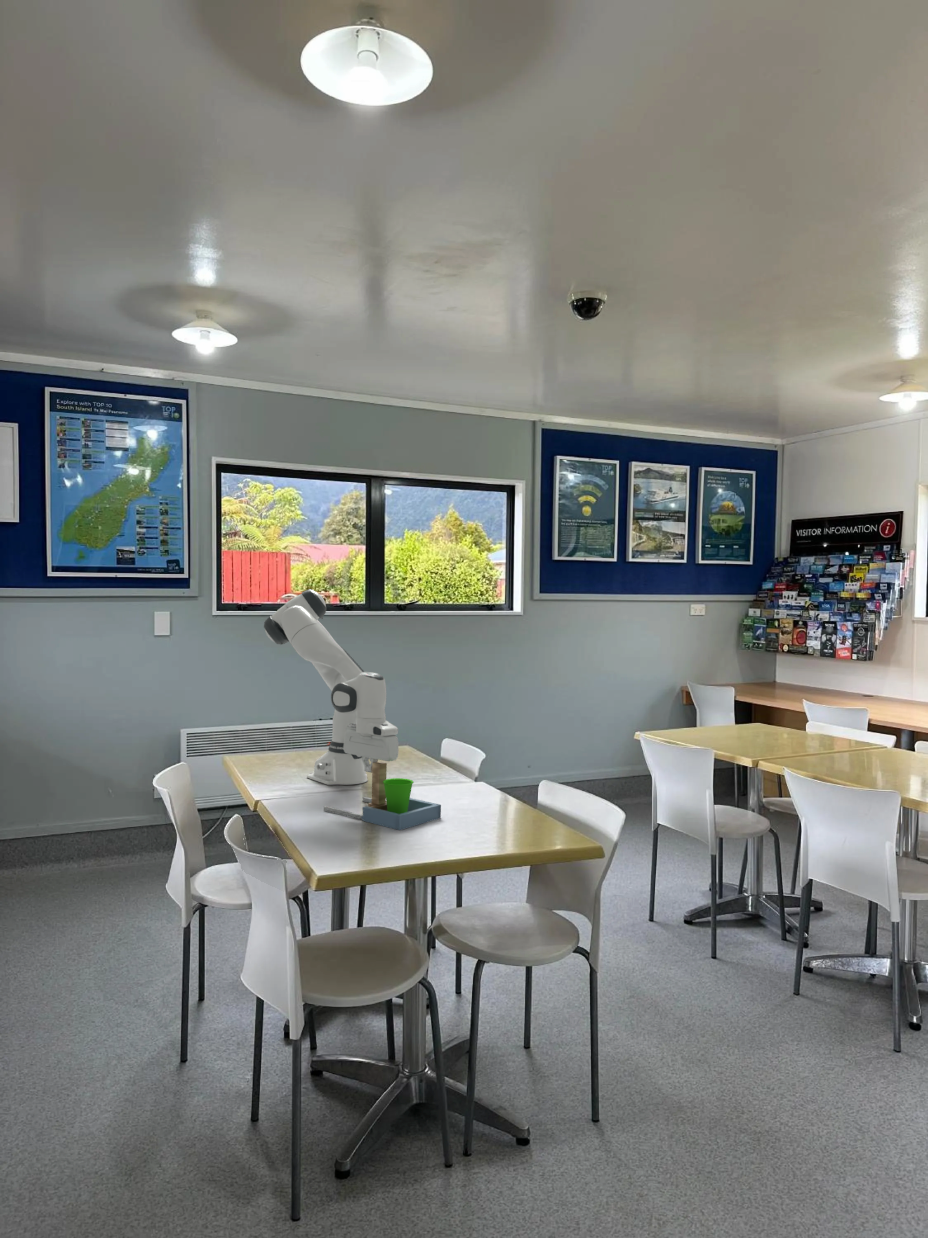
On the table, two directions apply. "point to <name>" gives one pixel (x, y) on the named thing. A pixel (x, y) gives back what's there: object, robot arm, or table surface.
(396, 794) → the cup
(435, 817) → the bay
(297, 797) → the table surface
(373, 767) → the stepped wooden block
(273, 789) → the table surface
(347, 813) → the track
